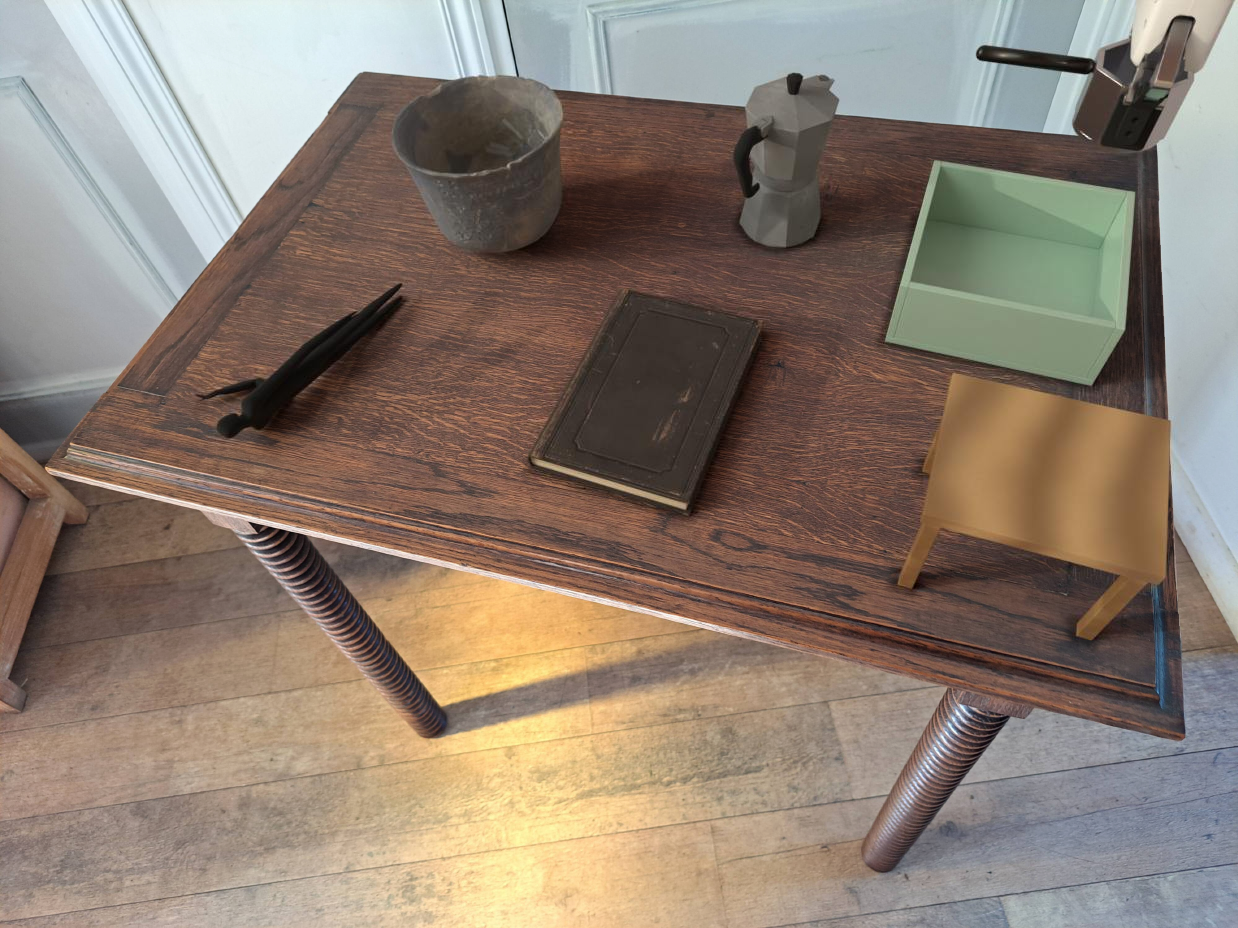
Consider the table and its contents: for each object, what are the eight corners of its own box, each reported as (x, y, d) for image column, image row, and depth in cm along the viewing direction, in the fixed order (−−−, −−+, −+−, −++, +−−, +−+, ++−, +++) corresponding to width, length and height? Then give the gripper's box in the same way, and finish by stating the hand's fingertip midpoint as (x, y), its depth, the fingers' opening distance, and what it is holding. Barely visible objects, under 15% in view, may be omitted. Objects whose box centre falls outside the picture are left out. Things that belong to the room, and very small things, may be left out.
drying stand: (1107, 503, 75) (1171, 420, 65) (1096, 646, 67) (1166, 577, 58) (920, 457, 79) (953, 372, 69) (891, 587, 72) (923, 513, 62)
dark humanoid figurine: (348, 229, 92) (155, 370, 80) (410, 275, 91) (223, 426, 79) (353, 277, 99) (175, 414, 87) (410, 321, 98) (239, 465, 86)
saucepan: (1163, 109, 72) (1195, 46, 68) (1160, 159, 69) (1194, 96, 64) (967, 82, 77) (984, 20, 72) (954, 128, 73) (972, 66, 68)
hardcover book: (762, 336, 88) (764, 320, 87) (688, 516, 77) (688, 502, 75) (619, 302, 93) (618, 286, 91) (529, 467, 81) (525, 453, 79)
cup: (537, 303, 94) (513, 190, 81) (399, 269, 98) (357, 158, 86) (599, 201, 102) (586, 85, 90) (470, 175, 107) (441, 61, 95)
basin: (1104, 251, 92) (1135, 191, 85) (1091, 386, 82) (1125, 329, 75) (918, 218, 97) (934, 160, 90) (884, 341, 87) (900, 285, 80)
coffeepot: (781, 177, 103) (796, 30, 88) (847, 209, 99) (875, 60, 84) (698, 245, 97) (699, 100, 82) (764, 282, 93) (778, 137, 78)
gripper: (1307, -55, 51) (1169, 192, 65) (1293, -173, 60) (1174, 67, 74) (1169, -67, 53) (1065, 175, 67) (1175, -180, 62) (1082, 56, 76)
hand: (1123, 117), depth 71 cm, fingers closed on saucepan, 7 cm apart
